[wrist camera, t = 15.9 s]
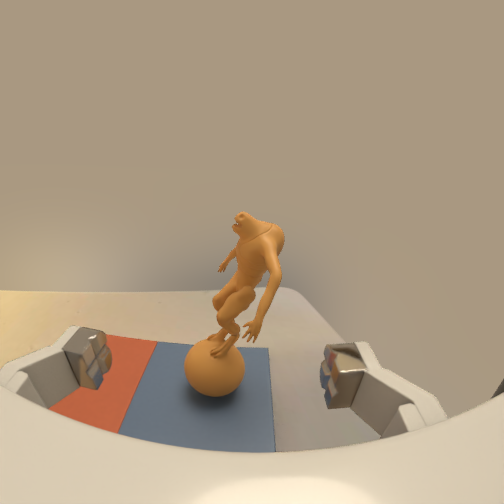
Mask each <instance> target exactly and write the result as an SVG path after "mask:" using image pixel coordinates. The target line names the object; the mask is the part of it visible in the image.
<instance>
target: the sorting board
mask: <svg viewBox="0 0 504 504" xmlns="http://www.w3.org/2000/svg"><path fill="white" fill-rule="evenodd" d="M106 337H107V342H106V345H107V346H108V347H109V348H110V350H111V353H112V365H111V368H110V370H109V372H107V373H105V374H104V375H103V378H104V380H103V382H102V384H101V385H100V387H99V389H98V390H92V389H88V388H85V387H81V386H80V388H78V389H77V390H75V391H74V392H72V393H71V394H69V395H68V396H66V397H65V398H63V399H62V400H60V401H59V402H58V403H56V404H55V405H53V406H52V407H50V408H49V410H51V411H54V412H56V413H58V414H61V415H63V416H66V417H68V418H71V419H74V420H76V421H79V422H82V423H85V424H88V425H91V426H94V427H97V428H100V429H103V430H107V431H110V432H113V433H117V434H121V435H125V436H128V437H133V438H137V439H141V440H146V441H150V442H155V443H161V444H166V445H172V446H179V447H185V448H193V449H202V450H212V451H226V452H253V453H266V452H276V450H275V435H274V421H273V406H272V393H271V379H270V366H269V352H268V348H245V347H236V348H237V349H238V350H239V352H240V353H241V355H242V357H243V359H244V363H245V373H244V377H243V380H242V382H241V383H240V385H239V386H238V387H237V388H236V389H235V390H234V391H233V392H231V393H229V394H227V395H224V396H219V397H212V396H207V395H204V394H202V393H200V392H198V391H197V390H195V389H194V388H193V387H192V386H191V385H190V383H189V382H188V380H187V378H186V375H185V371H184V362H185V358H186V355H187V353H188V352H189V350H190V349H191V348H192V347H193V346H194V345H189V344H178V343H167V342H157V341H149V340H141V339H134V338H126V337H120V336H113V335H107V334H106Z"/></svg>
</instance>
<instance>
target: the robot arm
mask: <svg viewBox="0 0 504 504" xmlns="http://www.w3.org/2000/svg"><path fill="white" fill-rule="evenodd" d="M106 342H107V337H106V334H105V333H104V332H103V331H100V330H95V329H90V328H85V327H80V326H75V325H72V326H70V327H69V328H68V329H67V330H66V331H65V332H64V333H63V334H62V335H61V336H60V337H59V338H58V340H57V341H56V342H55V343H54V344H53V345H52V346H47V347H44V348H42V349H39V350H37V351H34V352H32V353H29V354H27V355H25V356H22V357H20V358H17V359H15V360H12V361H10V362H7V363H6V364H5V365H4V366H3V367H2V368H1V369H0V504H504V393H502V394H500V395H498V396H496V397H494V398H493V399H491V400H489V401H487V402H485V403H483V404H481V405H478V406H476V407H474V408H472V409H470V410H467V411H465V412H463V413H461V414H458V415H456V416H453V417H451V418H448V416H447V415H446V413H445V411H444V410H443V408H442V406H441V405H440V403H439V402H438V400H437V398H436V396H435V395H432V394H431V393H429V392H427V391H425V390H424V389H422V388H420V387H418V386H416V385H415V384H413V383H411V382H409V381H407V380H405V379H404V378H402V377H400V376H398V375H397V374H395V373H393V372H392V371H390V370H388V369H386V368H385V369H382V367H381V365H380V363H379V362H378V360H377V358H376V356H375V354H374V353H373V351H372V349H371V347H370V346H369V344H368V342H366V341H363V342H353V343H345V344H327V345H326V347H325V350H324V356H325V360H324V361H323V362H322V363H321V368H320V382H321V386H322V388H324V389H325V390H326V391H325V394H324V397H325V401H326V405H327V408H328V409H337V408H348V407H351V409H352V410H353V411H354V412H355V413H356V414H357V415H358V416H359V417H360V418H362V419H363V420H364V421H365V422H366V423H367V424H368V425H369V426H370V427H372V428H373V429H374V430H375V431H376V432H377V433H378V434H379V435H381V437H380V439H379V440H374V441H369V442H364V443H359V444H353V445H347V446H341V447H334V448H326V449H317V450H307V451H293V452H266V453H253V452H226V451H212V450H202V449H193V448H185V447H179V446H172V445H166V444H161V443H155V442H150V441H146V440H141V439H137V438H133V437H128V436H125V435H121V434H117V433H113V432H110V431H107V430H103V429H100V428H97V427H94V426H91V425H88V424H85V423H82V422H79V421H76V420H74V419H71V418H68V417H66V416H63V415H61V414H58V413H56V412H54V411H51V410H49V408H50V407H52V406H53V405H55V404H56V403H58V402H59V401H60V400H62V399H63V398H65V397H66V396H68V395H69V394H71V393H72V392H74V391H75V390H77V389H78V388H80V386H81V387H85V388H88V389H92V390H98V389H99V387H100V385H101V384H102V382H103V380H104V378H103V375H104V374H105V373H107V372H109V370H110V368H111V365H112V353H111V350H110V348H109V347H108V346H107V345H106Z"/></svg>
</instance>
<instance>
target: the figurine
mask: <svg viewBox="0 0 504 504" xmlns="http://www.w3.org/2000/svg"><path fill="white" fill-rule="evenodd" d="M235 220H236V222H237V223H238V225H237V224H234V225H233V226H232V228H233V231H234V232H235V233H237V234H238V235H239V236H240V239H239V241H238V243H237V246H236V247H235V248H234V249H233V250H232V251H231V252H230V254H229V255H228V257H227V258H226V259H225V261H224V262H223V263H222V264H221V265H220V266H219V267H220V268H219V270H218V272H219V271H220V272H221V271H222V270H223V268H224V270H225V269H226V266H227V265H228V263H229V262H230V261H231V260H232V259H233V258H234V257H236V258H237V262H238V271H237V272H236V273H235V275H234V276H233V277H232V278H231V280H230V281H229V283H228V284H227V285H225V286H224V288H223V289H222V290H221V291H220V292H219V293H218V294H217V295H215V296H214V298H213V300H212V302H213V306H214V308H215V309H216V310H217V311H218V313H217V321H218V323H219V325H220V326H221V327H223V328H222V329H221V330H220V331H219V332H218V333H217V334H213V335H210V336H209V337H208V338H207V339H205V340H202V341H200V342H198V343H197V344H195V345H194V346H193V347H192V348H191V349H190V350H189V352H188V353H187V355H186V358H185V362H184V371H185V375H186V378H187V380H188V382H189V383H190V385H191V386H192V387H193V388H194V389H195V390H197V391H198V392H200V393H202V394H204V395H207V396H212V397H219V396H224V395H227V394H229V393H231V392H233V391H234V390H235V389H236V388H237V387H238V386H239V385H240V383H241V382H242V380H243V377H244V373H245V363H244V359H243V357H242V355H241V353H240V352H239V350H238V349H237V348H236V347H235V346H234V343H235V342H236V341H237V340H238V338H239V332H240V327H239V325H238V324H236V323H235V321H234V318H236V317H237V316H238V315H239V314H240V313H241V312H242V311H244V310H246V309H247V308H248V307H249V305H250V303H252V302H253V301H254V299H255V296H256V294H255V291H254V288H255V286H256V285H257V284H258V283H259V282H260V281H261V279H262V276H263V274H264V273H265V272H266V271H267V270H268V271H269V273H270V278H269V281H268V284H267V287H266V290H265V293H264V294H263V296H262V298H261V300H260V303H259V306H258V309H257V313H256V316H255V319H254V320H253V321H250V322H248V323H246V324H245V325H244V326H243V327H246V326H249V329H248V330H247V331H246V333H245V334H244V336H243V337H242V338H244V337H246V336H247V335H248V334H249V333H250V336H249V338H248V340H247V342H249V341H250V339H251V338H252V337H253V336H254V340H253V343H254V342H255V340H256V338H257V336H258V334H259V332H260V329H261V326H262V322H263V318H264V316H265V314H266V312H267V311H268V309H269V307H270V305H271V302H272V300H273V298H274V295H275V293H276V291H277V289H278V287H279V285H280V282H281V279H282V272H281V267H280V263H279V259H278V255H279V254H280V252H281V250H282V248H283V245H284V234H283V231H282V229H281V228H280V227H279V226H277V225H276V224H273V223H268V222H263V221H258V220H256V219H254V218H253V217H252V216H251V215H249V214H248V213H246V212H240V213H239V214H238V215H236V217H235ZM224 270H223V272H224ZM228 333H230V334H231V336H230V337H229V338H228V339H227V340H226V341H225V340H224V338H225V336H226V335H227V334H228Z"/></svg>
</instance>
